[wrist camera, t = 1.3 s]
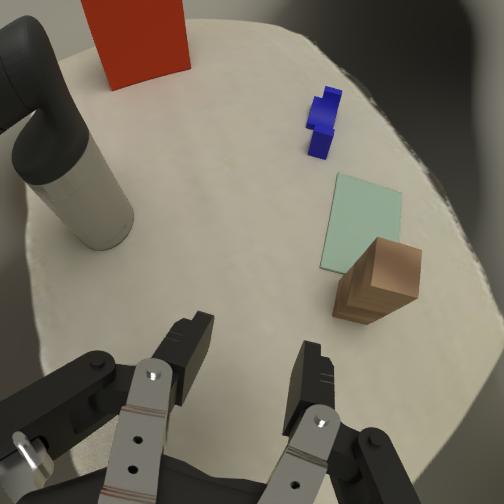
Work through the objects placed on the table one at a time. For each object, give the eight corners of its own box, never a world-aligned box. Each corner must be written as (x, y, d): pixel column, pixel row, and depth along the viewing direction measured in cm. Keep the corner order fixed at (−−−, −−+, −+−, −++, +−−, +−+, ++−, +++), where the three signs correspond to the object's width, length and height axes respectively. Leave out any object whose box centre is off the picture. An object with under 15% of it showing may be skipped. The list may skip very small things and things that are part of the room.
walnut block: (367, 324, 40) (417, 298, 27) (332, 316, 40) (370, 285, 27) (373, 289, 42) (421, 250, 29) (339, 280, 42) (377, 236, 29)
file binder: (191, 69, 59) (174, -68, 29) (112, 92, 56) (69, -38, 27) (185, 52, 61) (169, -71, 32) (112, 73, 59) (76, -46, 30)
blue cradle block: (311, 107, 55) (317, 83, 49) (335, 114, 54) (342, 90, 49) (298, 153, 50) (303, 128, 45) (325, 160, 50) (333, 136, 44)
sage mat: (393, 287, 42) (394, 286, 41) (319, 267, 43) (320, 266, 42) (400, 194, 48) (401, 192, 47) (337, 174, 48) (338, 172, 48)
